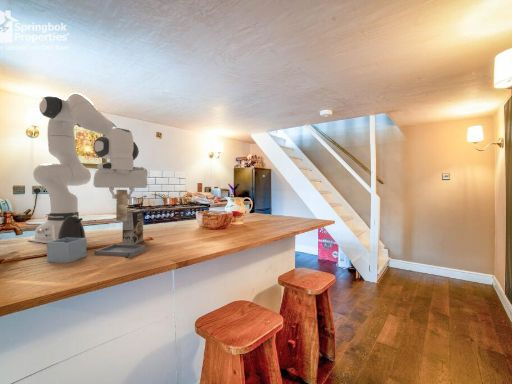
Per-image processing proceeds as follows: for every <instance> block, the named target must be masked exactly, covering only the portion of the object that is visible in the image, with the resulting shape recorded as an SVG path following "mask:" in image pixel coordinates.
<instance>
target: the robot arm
mask: <svg viewBox="0 0 512 384" xmlns="http://www.w3.org/2000/svg"><path fill="white" fill-rule="evenodd" d="M38 105H39V106H38V108H39V111H40V113H41V114H42V116H43V117H46V118H48V121H47V122H48V124H47V143H48V145H47V146H48V152H49V154H50V155H51V156H53V157H55V158H56V159H57V160H58V162H59V163H41V164H38V165H37V166H36V167H35V168H34V170H33V173H32V174H33V178H34V180H35V182H36V183H38V184H39V185H41V186H42V187H43V188H44V190H46V192H47V194H48V198H49V202H50V204H49V205H50V213H47V214H45V217H47V220H45V221H44V222H43V223H41V224H40V225H38V226H37V227H35V230H34V236H33V237H29V238H27V241H28V242H33V243H34V242H35V243H42V244H43V243H44V244H47V242H50V241H54V240H57V239H58V234H59V230H60V227H61V225H62V223H63V221H64V220H65V219H66V218H67V217H69V216H76V217H78V218H79V217H80V216H79V215H80V214H79V210H78V205H79V204H78V196H76V194H74V193H71V191H70V190H69V188H68V186H70V187H71V186H74V187H79V186H82V185H86V184H88V183H90V181H91V178H92V177H91V176H92V175H91V171H90V170H89V168H88V167H86V166H85V165H84V164H83V162H81V159H80V158H79V156H78V154H77V147H76V138H75V126H76V125H77V126H78V127H79V128H82V129H85V130H87V131H91V132H95V133H97V134H101V135H103V136H99V137H98V138H96V139H95V141H93V142H94V143H93V151H94V153H95V155H96V156H97V157H98V158H101V159H104V160H105V159H106V160H107V159H108V160H109V161H105V162H102V163H98V164H97V165H96V168H97V170H96V171H95V173H94V176H93V186H94V187H95V188H102V189H103V188H109V190H108V191H109V193H110V194H111V195H112V196H111V197H112V199H113V200H116V199H117V194H116V193H115V192H114V190H115V188H117V189H118V188H119V189H120V188H121V189H123V188H126V189H127V188H128V189H129V192H128V193H127V199H132V194H133V192H134V190H135V188H136V189H140V188H141V189H142V188H143V189H145V188H147V187H148V173H149V172H148V170H147V169H146V168H145V167H143V166H141V167H139V166H134V161H135V160H136V159H137V157H138V156H139V154H140V153H139V152H140V151H139V147H138V145H137V143H136V142H135V141H134V137H133V132H132V131H130V130H129V129H126V128H123V127H122V128H121V127H117V126H116V124H115V123H114V122H112V121H111V120H109V119H108V118H107V117H106V116H104V115H103V114H102V112H101V111H100V110H99V109H97V107H96V106H95V104H94V103H93V102H92V101H91V100H90V99H89V98H88V97H86V96H85V95H83V93H82V94H81V93H78V92H75V93H70V94H69V95H68V96H67V97H66V98H63V97H59V96H55V95H44V96H42V97H41V98H40V101H39V104H38ZM79 219H80V218H79Z"/></svg>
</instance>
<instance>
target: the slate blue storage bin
mask: <svg viewBox="0 0 512 384" xmlns="http://www.w3.org/2000/svg"><path fill="white" fill-rule="evenodd" d="M86 257H87V237H86V238H72V237H66V238H62V239H58V240H54V241H50V242H47V243H46V262H47V263H49V262H50V263H65V264H66V263H67V264H69V263H71V262H75V261H77V260H79V259H82V258H86Z"/></svg>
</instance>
